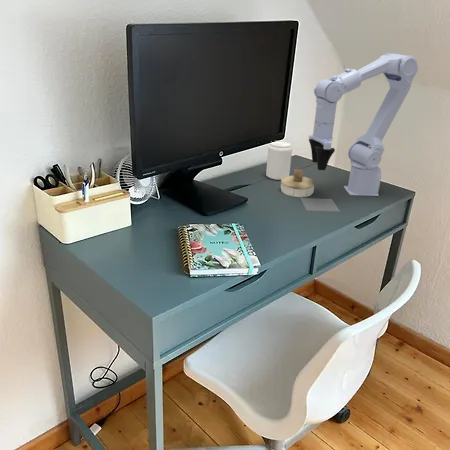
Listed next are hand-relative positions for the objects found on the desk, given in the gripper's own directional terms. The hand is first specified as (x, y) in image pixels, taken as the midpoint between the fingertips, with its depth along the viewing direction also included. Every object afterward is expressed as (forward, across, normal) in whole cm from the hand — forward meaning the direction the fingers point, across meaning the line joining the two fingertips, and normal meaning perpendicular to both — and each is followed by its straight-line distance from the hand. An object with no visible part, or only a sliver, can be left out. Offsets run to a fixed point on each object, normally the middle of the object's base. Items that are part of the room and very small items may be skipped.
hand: (318, 165), depth 153 cm
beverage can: (+11, -19, -9) cm, 24 cm away
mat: (+10, +7, 0) cm, 13 cm away
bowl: (+10, -4, -5) cm, 12 cm away
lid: (+7, -4, -5) cm, 10 cm away
